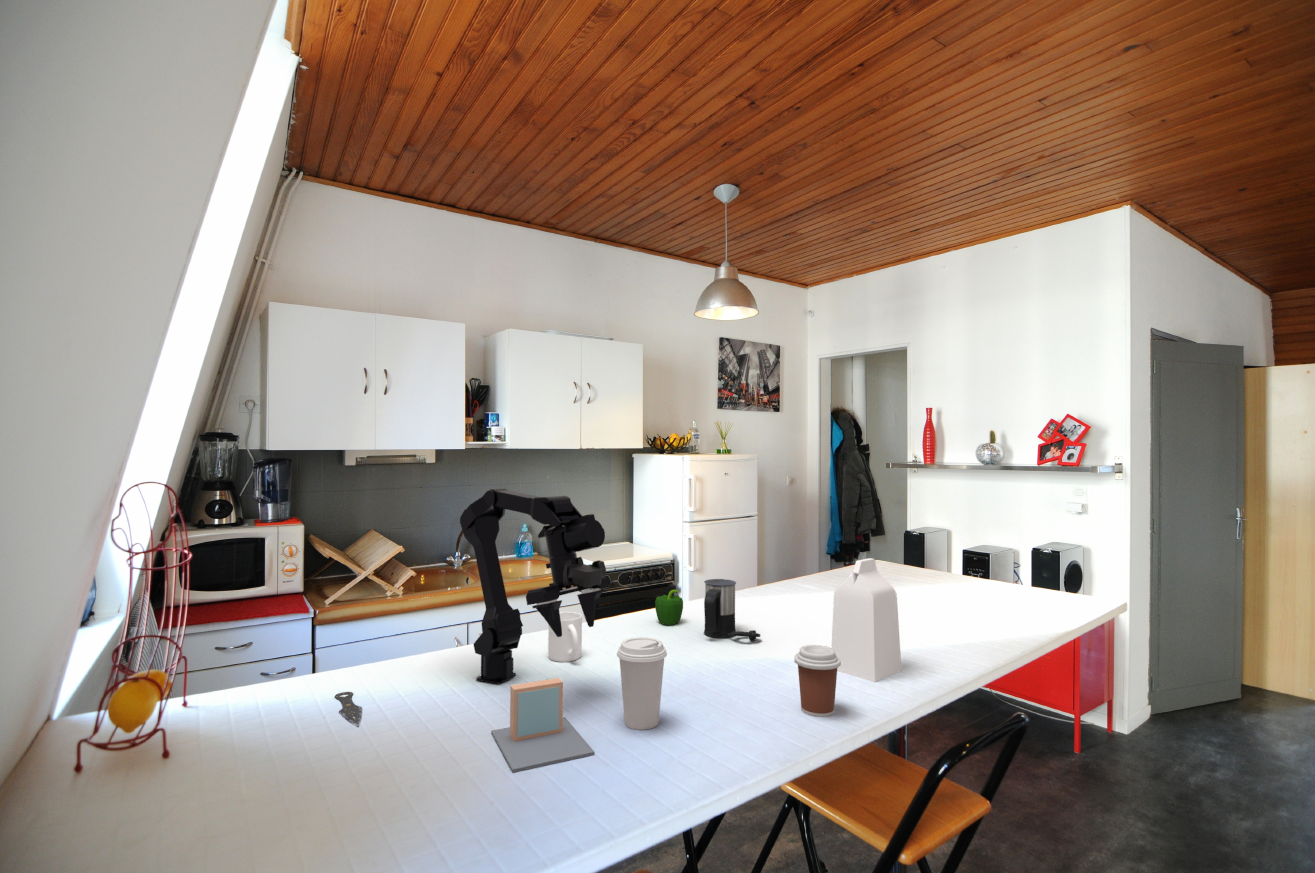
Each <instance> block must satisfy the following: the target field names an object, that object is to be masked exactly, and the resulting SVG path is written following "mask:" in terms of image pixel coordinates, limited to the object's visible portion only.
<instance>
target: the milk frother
mask: <svg viewBox="0 0 1315 873" xmlns="http://www.w3.org/2000/svg"><path fill="white" fill-rule="evenodd" d="M736 584H737V581H735V580H732V579H724V578H710V579H706V580H704V585H705V589H704V590H705V591H704V592H705V593H704V601H703V604H704V605H703V607H704V610H703V611H704V631H703V634H704V635H706V636H708V637H712V638H718V639H719V638H720V639H725V638H732V637H742V638H743V637H744V638H745V637H746V638H748V639H749V641H756V639H757V638H760V637H761V633H757V631H756V630H749V631H742V630H741V631H739V630H737V629H736Z"/></svg>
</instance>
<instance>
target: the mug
mask: <svg viewBox="0 0 1315 873" xmlns="http://www.w3.org/2000/svg"><path fill="white" fill-rule="evenodd" d="M559 613H560V620H561V627H562V636H561V637H557V636H556V634H555V633H554V631H553V630H552V629H551V627H550V626H549V625H548V632H547V633H548V638H547V639H548V643H547V644H548V646H547V648H548V649H547V650H548V658H549V659H550V660H551V661H553V662H558V663H569V662H570V663H571V662H574V661H577V660H579V659H580V658H581V657H582V650H583V649H582V648H583V645H582V641H583V638H582V637H583V631H582V630H583V615H582V614H581V613H579V612H576V611H574V612H572V611H559Z"/></svg>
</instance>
